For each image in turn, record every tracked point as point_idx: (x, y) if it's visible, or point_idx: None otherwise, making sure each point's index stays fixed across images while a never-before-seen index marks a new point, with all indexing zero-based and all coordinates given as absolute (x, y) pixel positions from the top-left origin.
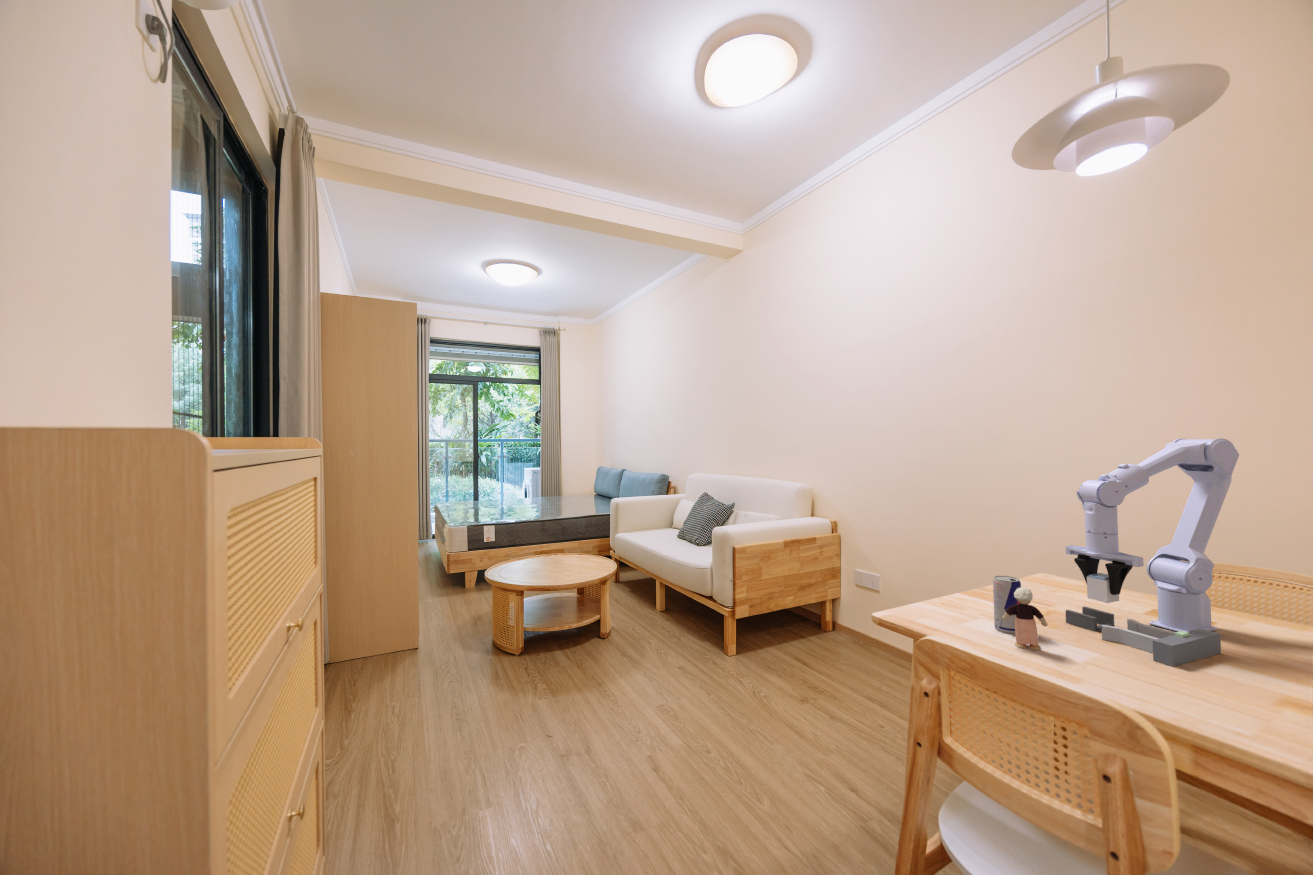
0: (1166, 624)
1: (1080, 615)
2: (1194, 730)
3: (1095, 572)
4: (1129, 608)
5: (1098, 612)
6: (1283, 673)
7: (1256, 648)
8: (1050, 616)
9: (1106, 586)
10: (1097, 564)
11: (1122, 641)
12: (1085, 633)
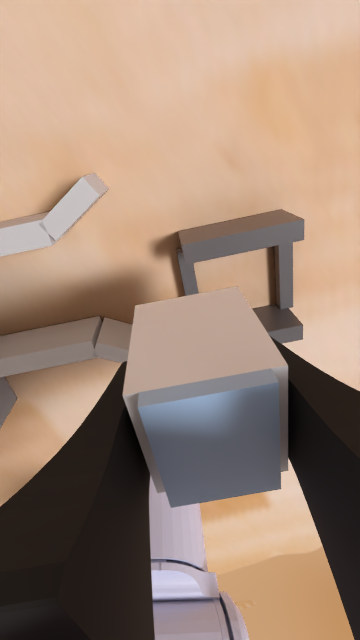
0: None
1: (237, 232)
2: None
3: (301, 471)
4: (293, 472)
5: None
6: None
7: (19, 483)
8: (354, 214)
9: (127, 362)
10: (331, 561)
11: (45, 213)
12: (166, 172)
